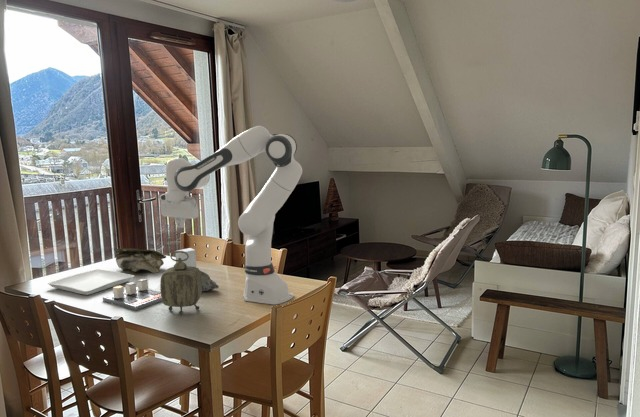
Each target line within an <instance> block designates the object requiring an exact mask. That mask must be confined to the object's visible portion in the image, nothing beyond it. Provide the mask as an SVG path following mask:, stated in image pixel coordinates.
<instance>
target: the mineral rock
mask: <svg viewBox="0 0 640 417" xmlns="http://www.w3.org/2000/svg"><path fill="white" fill-rule="evenodd" d="M199 271H200V273H201V279H202V292H208V291H213V290H215V289H219V286H220V285H218V284H217V282H216V281H214V280H213V279H211V277H210V275H209V274H208V273H205V271H202V270H200V269H199Z"/></svg>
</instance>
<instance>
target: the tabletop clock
mask: <svg viewBox="0 0 640 417" xmlns="http://www.w3.org/2000/svg"><path fill="white" fill-rule="evenodd" d="M175 253H185V254H186V255H187V258H186V259H184V260H181V258H179V259H178V260H176V258H173V255H174V254H175ZM188 258H189V256H188V254H187V253H186V252H184V251H177V250H175V251H173V252H171V253H170V259H171V260H172V261H173V262H175V264H174V265H173V266H171V267H169V268H167V269H166V270H164V272H163V273H162V275H161V277H160V286H159V287H160V288H159V290H160V291H161V297H162V304H163V305H164V306H167V307H168V310H169V311H172V310H173V309H174V308H180V310H179V311H178V314H179V316H181V315H184V311H183V308H185V307H192V306H194V307H195V310H197V311H199V310H200V308H201V307H200V306H199V305H197V303H198V301H200V299H201V297H202V292H203V291H202V279H201V273H200V271H201V270H200V269H199V267H197V266H196V267H192V266H187V265H186V264H185V263H184V262H182V261H186V260H187V259H188ZM176 261H177V263H176ZM199 270H200V271H199ZM173 307H174V308H173Z"/></svg>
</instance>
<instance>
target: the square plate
mask: <svg viewBox="0 0 640 417" xmlns="http://www.w3.org/2000/svg"><path fill="white" fill-rule="evenodd" d="M133 278H135V275H133V274H128V273H124V272H119V271H114V270H106V269H99V268H96V269H93V270H88V271H85V272H80V273H77V274H73V275H70V276H67V277H63V278H60V279H57V280H56V279H55V280H53V281H51V282H49V283H47V285H49V286H50V287H52V288H55V289H58V290H62V291H67V292H71V293H75V294H80V295H84V296H87V295H88V296H89V295H92V294H96V293H99V292H102V291H105V290H107V289H110V288H113V287H116V286H121V285H123V284H126V283H129V282H130V281H131V280H133Z"/></svg>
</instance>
